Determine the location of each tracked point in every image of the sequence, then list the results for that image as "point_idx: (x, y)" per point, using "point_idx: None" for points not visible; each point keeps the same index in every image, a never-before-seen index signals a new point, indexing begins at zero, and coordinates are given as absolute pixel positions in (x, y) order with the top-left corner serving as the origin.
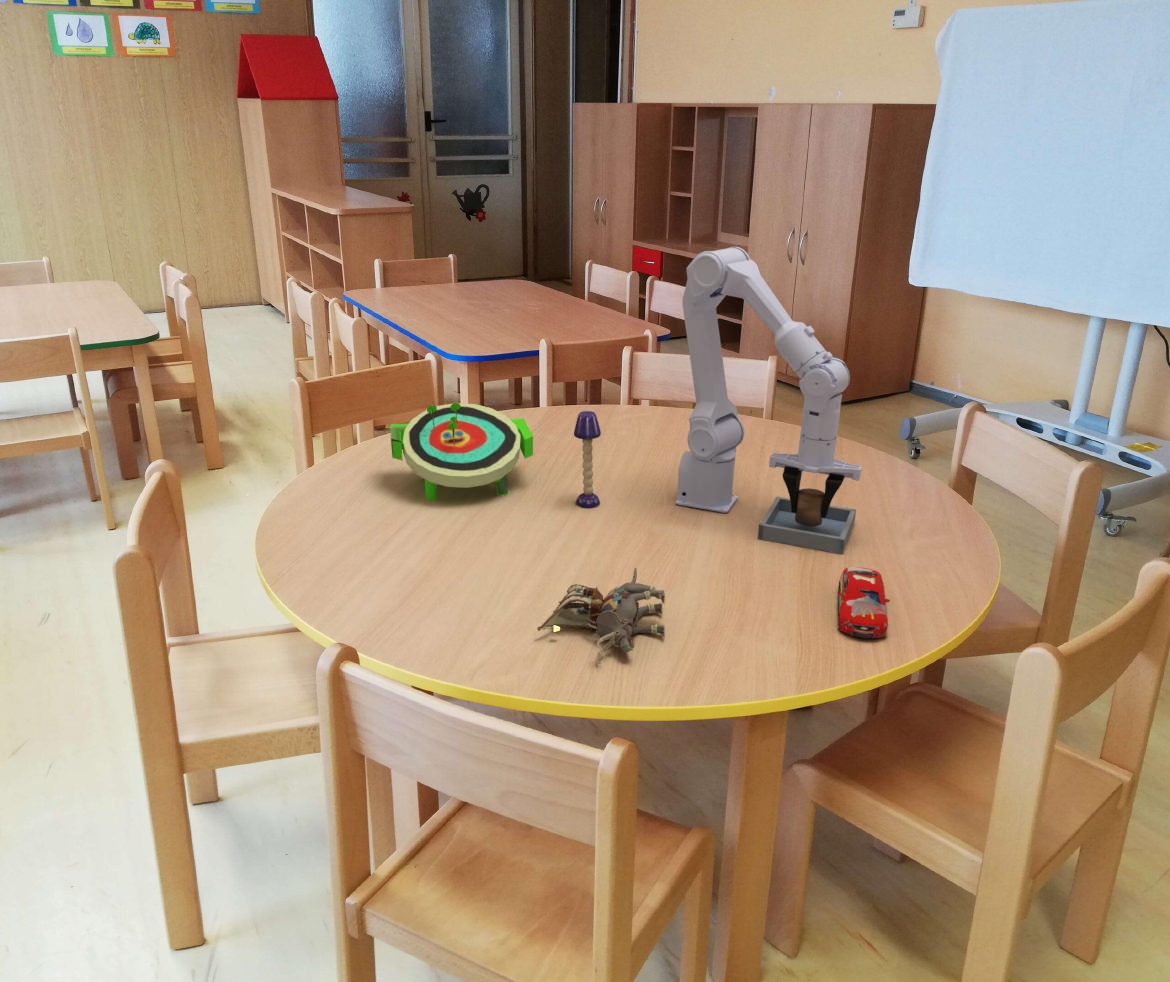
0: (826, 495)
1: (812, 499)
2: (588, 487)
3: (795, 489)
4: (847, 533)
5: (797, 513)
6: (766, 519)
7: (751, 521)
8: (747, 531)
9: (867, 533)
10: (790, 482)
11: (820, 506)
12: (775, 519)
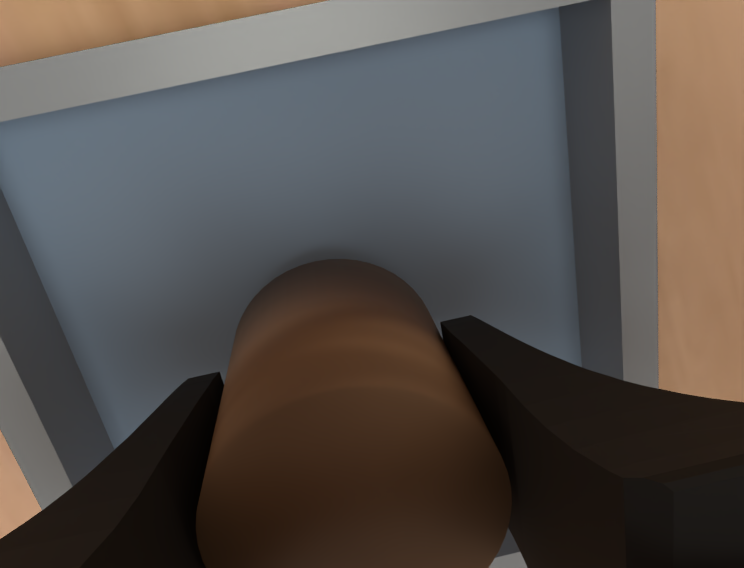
0: (111, 504)
1: (283, 395)
2: None
3: (538, 409)
4: None
5: (417, 310)
6: (623, 107)
7: (701, 234)
8: (689, 50)
9: (7, 515)
10: (673, 425)
11: (217, 416)
12: (569, 338)
